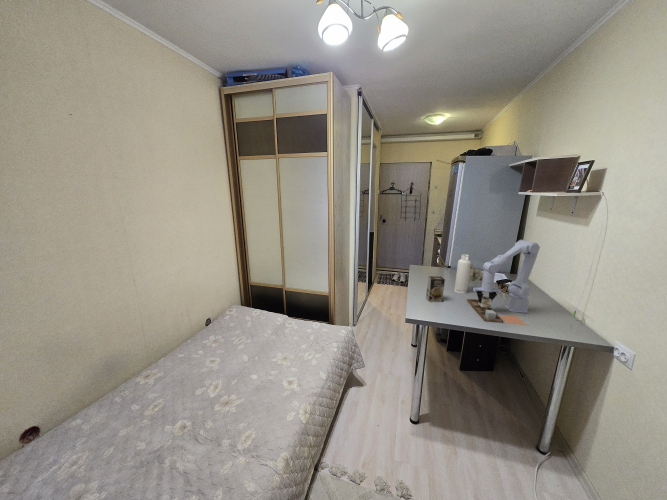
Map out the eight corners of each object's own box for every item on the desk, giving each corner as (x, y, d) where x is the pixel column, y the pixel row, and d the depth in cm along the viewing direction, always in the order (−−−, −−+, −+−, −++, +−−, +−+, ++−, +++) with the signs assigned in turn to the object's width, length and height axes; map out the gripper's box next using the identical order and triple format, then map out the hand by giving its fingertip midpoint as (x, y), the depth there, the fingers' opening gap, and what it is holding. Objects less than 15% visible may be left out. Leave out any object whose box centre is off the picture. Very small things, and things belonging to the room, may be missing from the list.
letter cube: (486, 304, 154) (487, 296, 153) (490, 307, 150) (491, 299, 148) (478, 303, 155) (479, 295, 154) (481, 307, 150) (482, 299, 149)
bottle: (463, 289, 187) (468, 253, 180) (468, 294, 179) (473, 256, 173) (452, 289, 188) (457, 253, 181) (456, 293, 180) (461, 256, 173)
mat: (516, 316, 147) (516, 316, 147) (526, 325, 138) (527, 324, 137) (498, 315, 148) (498, 314, 148) (507, 324, 139) (507, 323, 139)
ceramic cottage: (458, 279, 207) (462, 262, 203) (467, 276, 217) (471, 260, 213) (478, 286, 196) (483, 268, 192) (486, 282, 206) (491, 265, 202)
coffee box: (428, 301, 166) (431, 279, 162) (425, 297, 173) (427, 275, 169) (442, 302, 166) (445, 279, 162) (438, 298, 172) (441, 276, 168)
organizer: (481, 302, 166) (482, 299, 165) (502, 323, 140) (503, 320, 139) (466, 301, 167) (466, 298, 167) (484, 322, 141) (485, 319, 140)
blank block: (491, 316, 146) (492, 310, 145) (495, 319, 142) (496, 313, 142) (484, 315, 147) (485, 309, 146) (487, 319, 143) (488, 313, 142)
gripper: (497, 280, 151) (494, 300, 155) (472, 279, 153) (469, 299, 157) (503, 284, 145) (499, 305, 148) (477, 283, 147) (474, 304, 150)
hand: (484, 302), depth 152 cm, fingers closed on letter cube, 5 cm apart
